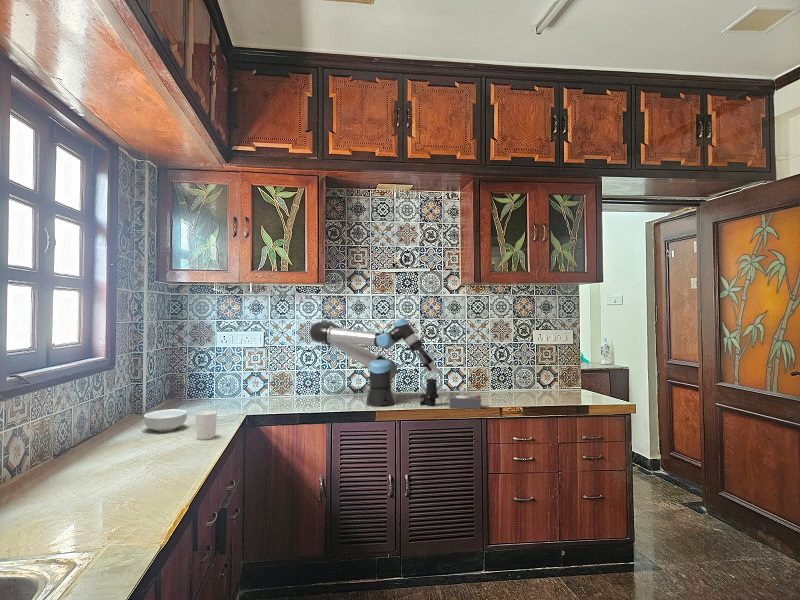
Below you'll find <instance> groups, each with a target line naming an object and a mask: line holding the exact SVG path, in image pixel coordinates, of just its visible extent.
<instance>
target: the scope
mask: <svg viewBox="0 0 800 600" xmlns="http://www.w3.org/2000/svg"><path fill="white" fill-rule="evenodd" d="M437 382H438V380H437V379H436V378H428V379H426V389H424V393H422V394H420V395H419V400H418V402H419V406H421V405H423V406H424V405H427V407H436V399H439V394H438V389H437V388H438V387H437V386H438V385H437Z"/></svg>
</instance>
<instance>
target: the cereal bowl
mask: <svg viewBox="0 0 800 600" xmlns="http://www.w3.org/2000/svg"><path fill="white" fill-rule="evenodd" d="M187 414H188V413H187V410H185V409H177V408H176V409H175V408H174V409H170V408H169V409H161V410H155V411H150V412H147V413H145V414H143V421H144V422H143V424H145V426H146V427H147V428H148V429H150V430H154V431H156V432H159V433H161V432H162V433H164V432H172V431H174V430H176V429H177V428H179V427H181V426H183V424H184V423H186V420H187V417H188V415H187Z"/></svg>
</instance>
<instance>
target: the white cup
mask: <svg viewBox="0 0 800 600" xmlns="http://www.w3.org/2000/svg"><path fill="white" fill-rule="evenodd" d="M217 414H218V413H217V411H215V410H204V411H198V412H195V425H196V427H195V428H196V435H197V437H196V438H197V440H201V441H203V440H211V439H214V438H215V437H216V430H217V417H218V415H217Z"/></svg>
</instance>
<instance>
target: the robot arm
mask: <svg viewBox="0 0 800 600" xmlns="http://www.w3.org/2000/svg"><path fill="white" fill-rule="evenodd" d="M415 332H416V331H414V330H413V328H412V327H411V325H410V323H409V322H408V321H407V319H405V318H404V317H401V318H399V319H398V320H397V321H395V322H394V323H393V328H392V329H391V330H389V331H388V332H386V333H383V332H374V331H365V330H356V329H346V328H339V327H338V326H337V325H336V324H335V323H334V322H331V321H326V320H325V321H319V322H315V323H313V324H312V326H311V327H310V329H309V336H310V338H311V340H312V341H314V342H316V343H318V344H319V343H324V344H325V345H326V346H328V347H329V348H333V347H335V348H336V349H338V350H339V351H341V352H342V353H344V354H346V355H347V356H349V357H351V358H352V359H353V360H355V361H357V362H358V363H360V364H361V365H362V366H364V367H366V368H367V369H368V371H369V390H368V395H367V396H366V402H365V403H367V404H369V405H368V406H370V405H390V406H393V405H395V397H394V395H393V391H392V380H393V379H394V378H395V376H396V375H397V373H398V365H397V364H396V362H395V361H394V360H392V359H388V358H386V357H384V356H383V355H381V354H378V355H377V354H375V353H374V352H372V351H370V350H368V349H367V348H365V347H364V346H371V347H379V348H381V349H385V350H388V349H391V348H392V346H394V345H395V344H397V343H398V342H399V341H400V340H402V339H403V341H404V342H405V343H406V346H408V347H409V350H410V351H411V352H413V353H414V352H415V354H416V355H417V357H418V358H419V360H420V362H421V364H422V365H423V368H424V369H425V368H426V370H427V371H428V373H429V374H430V376H431V377H432V378H433V377H434V376H436V375H437V374H438V372H440V369H439V368H438V367H437V366H436V364H435V362H434V361H435V360H434V359H432V358H431V356H429V354H428V353H427V352H426V351H425V349H424V348H423V347H422V346H423V345H424V344H423V342H422V340H420V339H419V337H418V334H417V333H415ZM362 345H363V346H362ZM367 404H366V405H367ZM392 404H393V405H392Z"/></svg>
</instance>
